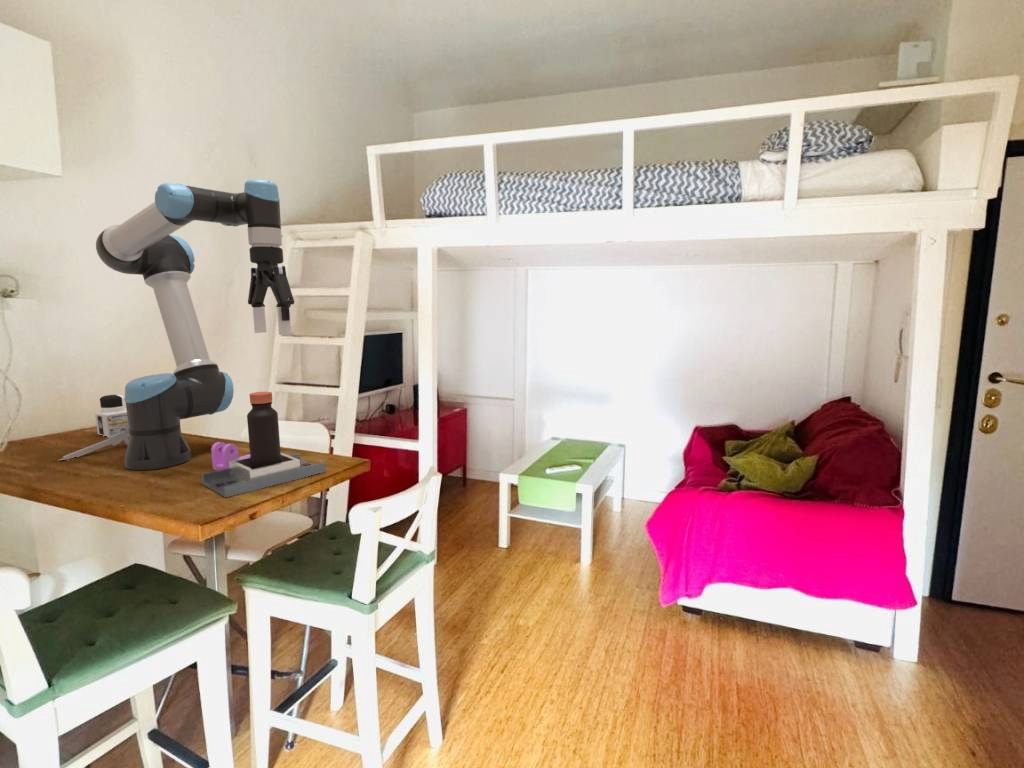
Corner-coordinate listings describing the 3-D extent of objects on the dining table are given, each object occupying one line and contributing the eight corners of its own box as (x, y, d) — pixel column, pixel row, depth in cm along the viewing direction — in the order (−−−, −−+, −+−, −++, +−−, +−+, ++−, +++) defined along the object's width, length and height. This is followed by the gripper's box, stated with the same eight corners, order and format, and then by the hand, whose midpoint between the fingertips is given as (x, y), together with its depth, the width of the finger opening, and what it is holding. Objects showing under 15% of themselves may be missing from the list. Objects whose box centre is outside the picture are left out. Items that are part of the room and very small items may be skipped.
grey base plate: (202, 484, 133) (200, 465, 133) (298, 462, 151) (297, 445, 150) (225, 497, 124) (223, 478, 123) (325, 472, 141) (324, 455, 141)
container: (109, 438, 180) (104, 398, 178) (97, 435, 183) (92, 396, 182) (135, 433, 186) (130, 394, 184) (123, 430, 190) (118, 392, 188)
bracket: (227, 472, 143) (224, 446, 141) (212, 469, 145) (210, 443, 144) (270, 459, 154) (268, 434, 153) (256, 457, 156) (254, 432, 155)
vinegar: (286, 469, 141) (280, 390, 138) (275, 478, 134) (269, 395, 131) (259, 469, 141) (252, 391, 138) (246, 478, 134) (239, 395, 131)
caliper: (135, 445, 172) (133, 424, 171) (137, 445, 171) (135, 425, 170) (58, 462, 154) (54, 440, 153) (60, 463, 153) (57, 440, 152)
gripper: (305, 244, 132) (311, 334, 136) (259, 250, 149) (265, 331, 152) (274, 242, 127) (280, 336, 130) (229, 249, 144) (236, 332, 147)
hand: (272, 333), depth 141 cm, fingers open, 13 cm apart
